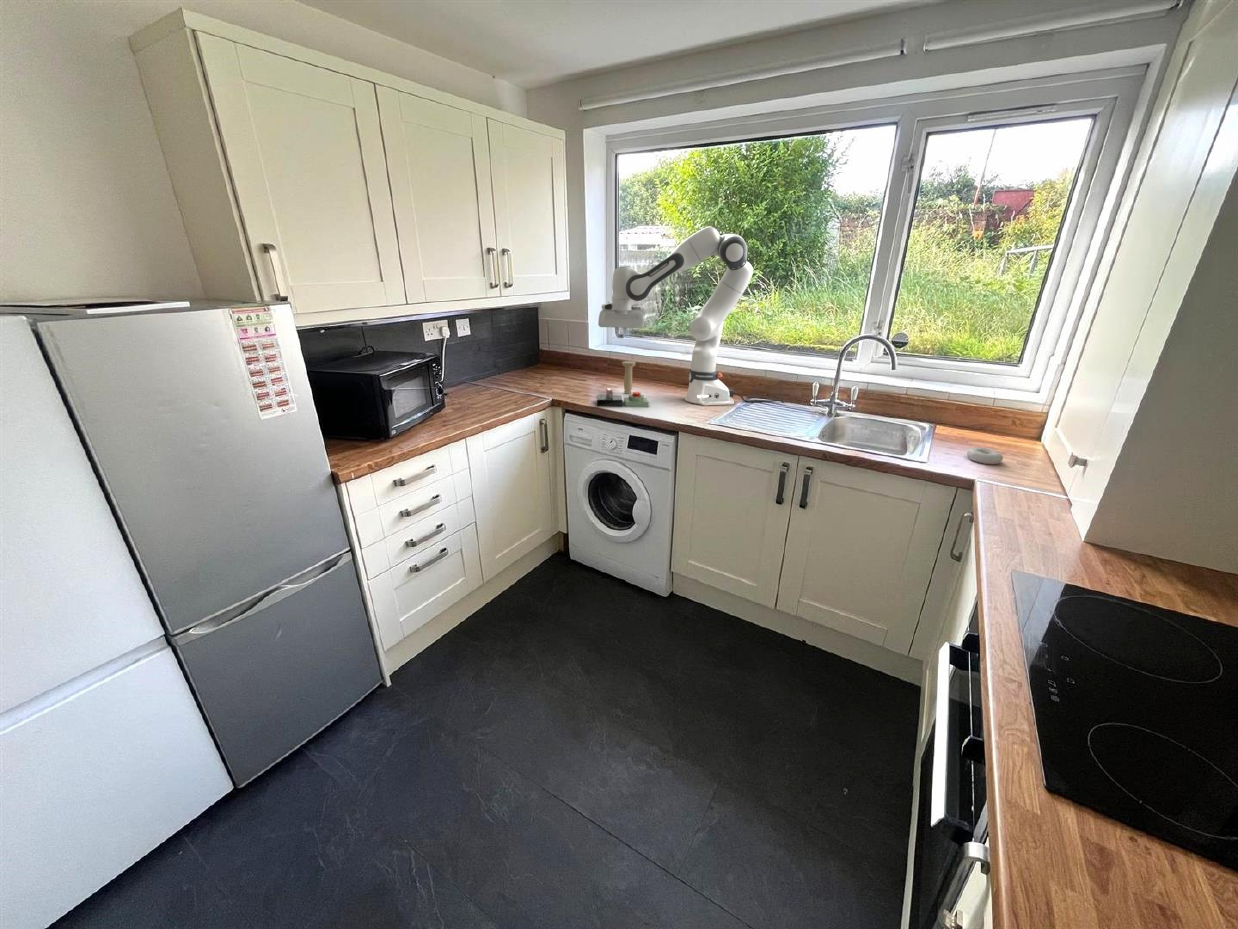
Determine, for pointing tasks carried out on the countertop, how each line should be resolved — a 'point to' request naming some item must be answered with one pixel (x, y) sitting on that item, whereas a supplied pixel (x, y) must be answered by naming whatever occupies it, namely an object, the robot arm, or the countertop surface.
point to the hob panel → (609, 401)
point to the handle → (628, 376)
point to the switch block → (635, 401)
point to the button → (636, 394)
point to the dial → (609, 393)
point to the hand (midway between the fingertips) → (620, 338)
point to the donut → (984, 455)
